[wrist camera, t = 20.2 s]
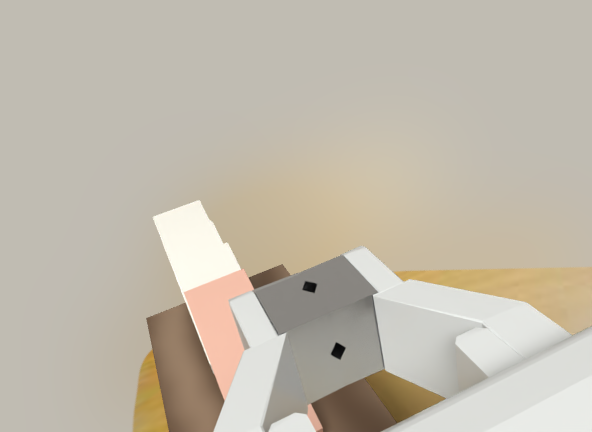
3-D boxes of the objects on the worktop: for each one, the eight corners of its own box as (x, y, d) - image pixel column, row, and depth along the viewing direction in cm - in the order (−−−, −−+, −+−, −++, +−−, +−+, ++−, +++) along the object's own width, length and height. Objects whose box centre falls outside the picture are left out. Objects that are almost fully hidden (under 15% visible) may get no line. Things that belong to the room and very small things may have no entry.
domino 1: (251, 311, 46) (202, 210, 55) (249, 301, 45) (199, 199, 53) (198, 334, 44) (156, 227, 53) (195, 324, 43) (152, 216, 52)
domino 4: (323, 437, 33) (246, 280, 42) (322, 427, 32) (243, 268, 41) (251, 473, 32) (188, 303, 41) (248, 464, 31) (183, 292, 40)
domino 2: (297, 386, 37) (230, 253, 46) (296, 376, 36) (227, 242, 45) (233, 417, 36) (177, 274, 45) (229, 408, 35) (172, 263, 44)
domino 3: (271, 347, 41) (214, 231, 50) (269, 337, 40) (211, 220, 49) (213, 373, 40) (165, 250, 49) (209, 364, 39) (161, 239, 48)
